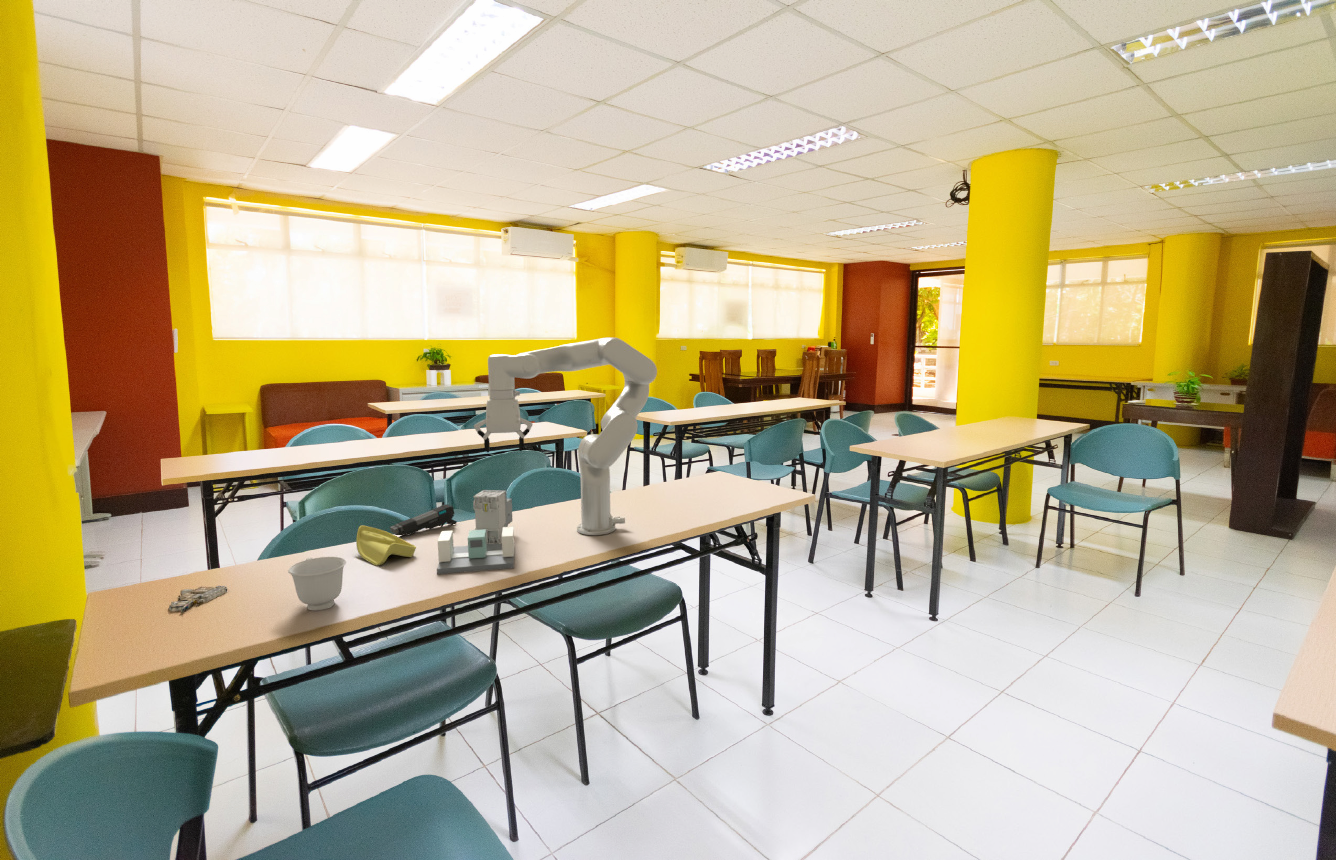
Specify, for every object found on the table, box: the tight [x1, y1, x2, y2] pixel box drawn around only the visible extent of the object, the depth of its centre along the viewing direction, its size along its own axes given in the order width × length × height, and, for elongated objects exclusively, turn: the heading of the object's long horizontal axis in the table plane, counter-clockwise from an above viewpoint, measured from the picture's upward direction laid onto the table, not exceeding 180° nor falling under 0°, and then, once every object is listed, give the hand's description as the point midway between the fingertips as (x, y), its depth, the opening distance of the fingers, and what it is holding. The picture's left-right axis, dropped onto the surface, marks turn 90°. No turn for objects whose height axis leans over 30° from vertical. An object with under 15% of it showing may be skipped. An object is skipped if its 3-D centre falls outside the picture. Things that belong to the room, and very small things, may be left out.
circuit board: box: [168, 585, 228, 614], centre depth 154 cm, size 12×15×2 cm
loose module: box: [467, 529, 487, 559], centre depth 180 cm, size 4×7×6 cm, turn 13°
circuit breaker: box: [472, 489, 513, 544], centre depth 201 cm, size 8×14×15 cm, turn 174°
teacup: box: [287, 556, 347, 611], centre depth 151 cm, size 12×15×10 cm
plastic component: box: [355, 524, 417, 566], centre depth 186 cm, size 20×7×10 cm
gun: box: [389, 503, 458, 536], centre depth 208 cm, size 4×20×10 cm, turn 135°
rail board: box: [436, 526, 516, 575], centre depth 181 cm, size 20×18×8 cm
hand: (504, 451), depth 195 cm, fingers open, 9 cm apart
